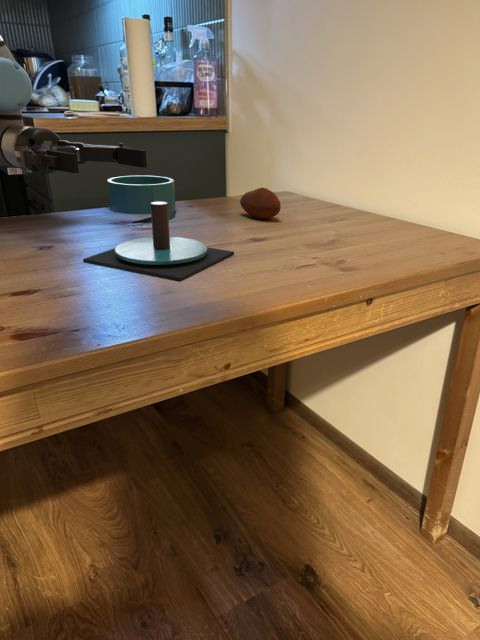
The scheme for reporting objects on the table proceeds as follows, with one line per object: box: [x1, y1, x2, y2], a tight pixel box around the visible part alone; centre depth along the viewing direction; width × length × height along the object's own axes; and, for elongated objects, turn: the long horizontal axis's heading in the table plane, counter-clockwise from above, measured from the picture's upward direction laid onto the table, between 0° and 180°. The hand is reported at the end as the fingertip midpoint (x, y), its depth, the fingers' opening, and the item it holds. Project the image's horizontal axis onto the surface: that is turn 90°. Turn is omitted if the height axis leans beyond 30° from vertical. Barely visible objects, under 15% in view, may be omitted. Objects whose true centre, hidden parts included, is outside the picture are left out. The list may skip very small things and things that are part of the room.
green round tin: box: [106, 175, 177, 224], centre depth 106 cm, size 14×14×8 cm
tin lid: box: [115, 202, 209, 265], centre depth 78 cm, size 15×15×8 cm
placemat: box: [82, 246, 235, 282], centre depth 80 cm, size 18×16×1 cm
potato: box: [239, 187, 282, 220], centre depth 109 cm, size 6×12×6 cm, turn 47°
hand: (112, 161), depth 79 cm, fingers open, 13 cm apart
